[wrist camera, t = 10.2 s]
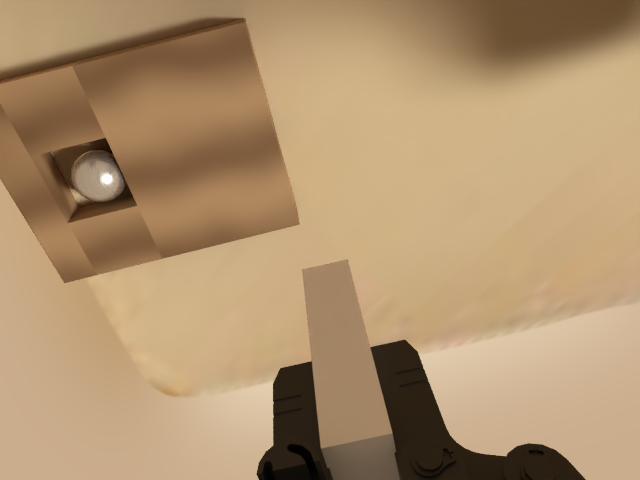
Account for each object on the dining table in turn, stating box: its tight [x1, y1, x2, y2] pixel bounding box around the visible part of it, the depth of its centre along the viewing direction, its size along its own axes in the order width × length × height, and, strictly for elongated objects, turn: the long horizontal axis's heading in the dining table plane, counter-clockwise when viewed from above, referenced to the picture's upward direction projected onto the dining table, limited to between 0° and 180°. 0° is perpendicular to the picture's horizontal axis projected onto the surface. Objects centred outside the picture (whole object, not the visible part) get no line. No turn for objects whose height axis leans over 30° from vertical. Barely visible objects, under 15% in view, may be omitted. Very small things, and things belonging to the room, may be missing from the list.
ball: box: [71, 150, 127, 202], centre depth 32 cm, size 4×4×4 cm
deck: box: [0, 18, 299, 283], centre depth 33 cm, size 14×18×2 cm
